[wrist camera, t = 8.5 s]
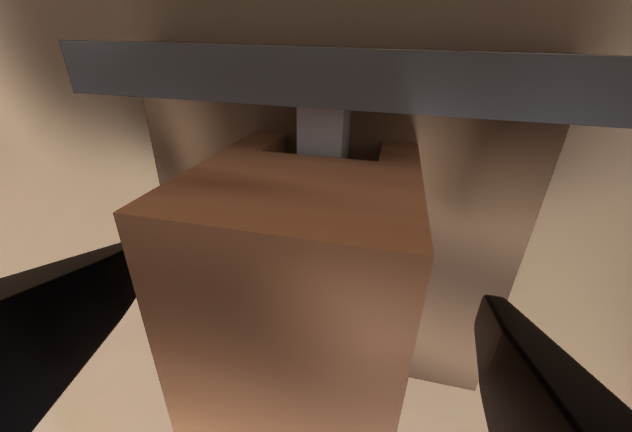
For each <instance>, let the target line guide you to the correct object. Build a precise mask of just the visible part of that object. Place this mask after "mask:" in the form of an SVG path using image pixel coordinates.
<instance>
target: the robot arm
mask: <svg viewBox="0 0 632 432" xmlns="http://www.w3.org/2000/svg"><path fill="white" fill-rule="evenodd" d="M135 298H136V294H135V290H134V287H133V283H132V280H131V276H130V272H129V269H128V265H127V262H126V258H125V254H124V251H123V247H122V244H121V243H117V244H114V245H111V246H107V247H104V248H100V249H97V250H94V251H90V252H87V253H84V254H80V255H77V256H74V257H70V258H67V259H64V260H60V261H57V262H53V263H50V264H47V265H43V266H40V267H37V268H33V269H30V270H27V271H23V272H20V273H17V274H13V275H10V276H6V277H3V278H0V432H32V431H33V430H34V428H35V427H36V426H37V425H38V423H39V422H40V421H41V420H42V418H43V417H44V416H45V415H46V413H47V412H48V411H49V410H50V408H51V407H52V406H53V405H54V403H55V402H56V401H57V400H58V398H59V397H60V396H61V395H62V393H63V392H64V391H65V390H66V388H67V387H68V386H69V385H70V383H71V382H72V381H73V380H74V378H75V377H76V376H77V375H78V373H79V372H80V371H81V370H82V368H83V367H84V366H85V364H86V363H87V362H88V361H89V359H90V358H91V357H92V356H93V354H94V353H95V352H96V351H97V349H98V348H99V347H100V346H101V344H102V343H103V342H104V341H105V339H106V338H107V337H108V336H109V334H110V333H111V332H112V331H113V329H114V328H115V327H116V326H117V324H118V323H119V322H120V320H121V319H122V318H123V316H124V315H125V313H126V312H127V311H128V309H129V308H130V306H131V304H132V303H133V301H134V300H135ZM474 334H475V345H476V355H477V365H478V376H479V385H480V393H481V398H482V403H483V408H484V412H485V417H486V421H487V426H488V430H489V432H632V410H631V409H630V408H629V407H628V406H627V405H626V404H625V403H623V402H622V401H621V400H620V399H619V398H618V397H617V396H615V395H614V394H613V393H612V392H611V391H610V390H609V389H607V388H606V387H605V386H604V385H603V384H602V383H601V382H600V381H598V380H597V379H596V378H595V377H594V376H593V375H592V374H590V373H589V372H588V371H587V370H586V369H585V368H584V367H582V366H581V365H580V364H579V363H578V362H577V361H576V360H574V359H573V358H572V357H571V356H570V355H569V354H568V353H567V352H565V351H564V350H563V349H562V348H561V347H560V346H559V345H557V344H556V343H555V342H554V341H553V340H552V339H551V338H549V337H548V336H547V335H546V334H545V333H544V332H543V331H542V330H540V329H539V328H538V327H537V326H536V325H535V324H534V323H532V322H531V321H530V320H529V319H528V318H527V317H526V316H524V315H523V314H522V313H521V312H520V311H519V310H518V309H516V308H515V307H514V306H513V305H512V304H511V303H510V302H509V301H507V300H506V299H505V298H504V297H501V296H494V295H488V294H486V295H484V296H483V297H482V299H481V302H480V306H479V309H478V312H477V315H476V318H475V323H474Z"/></svg>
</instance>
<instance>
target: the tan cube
mask: <svg viewBox="0 0 632 432" xmlns="http://www.w3.org/2000/svg"><path fill="white" fill-rule="evenodd" d="M113 215H114V218H115V222H116V226H117V229H118V233H119V236H120V240H121V244H122V247H123V251H124V254H125V258H126V262H127V265H128V269H129V272H130V276H131V280H132V283H133V287H134V290H135V294H136V298H137V301H138V305H139V308H140V312H141V316H142V319H143V323H144V327H145V330H146V334H147V337H148V341H149V345H150V348H151V352H152V355H153V359H154V363H155V366H156V370H157V373H158V377H159V381H160V384H161V388H162V391H163V395H164V399H165V402H166V406H167V409H168V413H169V417H170V420H171V424H172V427H173V431H174V432H397V428H398V423H399V419H400V414H401V409H402V405H403V400H404V396H405V391H406V386H407V382H408V377H409V372H410V368H411V363H412V358H413V354H414V349H415V345H416V340H417V335H418V331H419V326H420V321H421V317H422V312H423V307H424V303H425V298H426V294H427V289H428V284H429V280H430V275H431V270H432V266H433V261H434V252H433V245H432V238H431V231H430V224H429V217H428V210H427V203H426V196H425V189H424V182H423V175H422V168H421V161H420V154H419V147H418V144H412V143H399V142H386V141H383V143H382V147H381V152H380V156H379V161H367V160H356V159H345V158H334V157H323V156H312V155H301V154H289V153H285V133H272V132H259V131H254V132H252V133H251V134H249V135H247V136H245V137H244V138H242V139H240V140H238V141H237V142H235V143H233V144H231V145H230V146H228V147H226V148H224V149H223V150H221V151H219V152H217V153H216V154H214V155H212V156H210V157H209V158H207V159H205V160H204V161H202V162H200V163H198V164H197V165H195V166H193V167H191V168H190V169H188V170H186V171H184V172H183V173H181V174H179V175H177V176H176V177H174V178H172V179H170V180H169V181H167V182H165V183H163V184H162V185H160V186H158V187H157V188H155V189H153V190H151V191H150V192H148V193H146V194H144V195H143V196H141V197H139V198H137V199H136V200H134V201H132V202H130V203H129V204H127V205H125V206H123V207H122V208H120V209H118V210H117V211H115V212H113Z"/></svg>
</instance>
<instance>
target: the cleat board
mask: <svg viewBox="0 0 632 432" xmlns="http://www.w3.org/2000/svg"><path fill="white" fill-rule="evenodd" d="M59 42H60V46H61V49H62V53H63V56H64V60H65V63H66V67H67V70H68V74H69V77H70V81H71V84H72V88H73V92H74V93H85V94H101V95H116V96H132V97H143V102H144V107H145V112H146V117H147V122H148V127H149V132H150V137H151V142H152V147H153V152H154V158H155V163H156V168H157V173H158V178H159V183H160V185H162V184H163V183H165V182H167V181H169V180H170V179H172V178H174V177H176V176H177V175H179V174H181V173H183V172H184V171H186V170H188V169H190V168H191V167H193V166H195V165H197V164H198V163H200V162H202V161H204V160H205V159H207V158H209V157H210V156H212V155H214V154H216V153H217V152H219V151H221V150H223V149H224V148H226V147H228V146H230V145H231V144H233V143H235V142H237V141H238V140H240V139H242V138H244V137H245V136H247V135H249V134H251V133H252V132H254V131H259V132H272V133H285V153H289V154H301V155H312V156H323V157H334V158H345V159H356V160H367V161H379V156H380V152H381V147H382V143H383V141H386V142H399V143H412V144H418V147H419V154H420V161H421V168H422V175H423V182H424V189H425V196H426V203H427V210H428V217H429V224H430V231H431V238H432V245H433V252H434V261H433V266H432V270H431V275H430V280H429V284H428V289H427V294H426V298H425V303H424V307H423V312H422V317H421V321H420V326H419V331H418V335H417V340H416V345H415V349H414V354H413V358H412V363H411V368H410V372H409V377H411V378H415V379H420V380H425V381H430V382H435V383H440V384H444V385H449V386H454V387H459V388H464V389H469V390H473V391H475V389H476V386H477V383H478V381H479V376H478V365H477V355H476V345H475V334H474V323H475V318H476V315H477V312H478V309H479V306H480V302H481V299H482V297H483V296H484V295H486V294H488V295H494V296H501V297H504V298H505V299H506V300H508V297H509V294H510V291H511V289H512V286H513V283H514V280H515V277H516V275H517V272H518V269H519V266H520V263H521V261H522V258H523V255H524V252H525V249H526V247H527V244H528V241H529V238H530V236H531V233H532V230H533V227H534V224H535V222H536V219H537V216H538V213H539V210H540V208H541V205H542V202H543V199H544V196H545V194H546V191H547V188H548V185H549V183H550V180H551V177H552V174H553V171H554V169H555V166H556V163H557V160H558V157H559V155H560V152H561V149H562V146H563V143H564V141H565V138H566V135H567V132H568V130H569V127H570V125H584V126H600V127H616V128H631V129H632V56H617V55H595V54H573V53H538V52H503V51H467V50H432V49H397V48H362V47H327V46H292V45H256V44H221V43H186V42H149V41H84V40H59Z"/></svg>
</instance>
